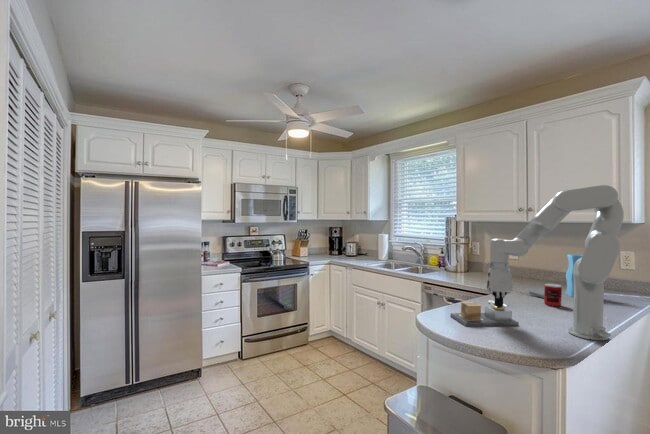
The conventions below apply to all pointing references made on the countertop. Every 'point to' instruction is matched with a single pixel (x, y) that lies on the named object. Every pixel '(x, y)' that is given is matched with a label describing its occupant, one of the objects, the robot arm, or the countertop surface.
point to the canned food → (552, 295)
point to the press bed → (488, 318)
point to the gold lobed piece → (498, 307)
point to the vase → (571, 274)
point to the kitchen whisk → (532, 292)
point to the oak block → (470, 310)
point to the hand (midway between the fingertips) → (498, 306)
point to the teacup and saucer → (494, 303)
